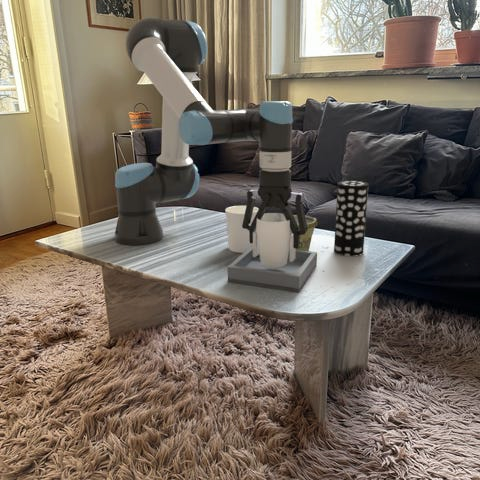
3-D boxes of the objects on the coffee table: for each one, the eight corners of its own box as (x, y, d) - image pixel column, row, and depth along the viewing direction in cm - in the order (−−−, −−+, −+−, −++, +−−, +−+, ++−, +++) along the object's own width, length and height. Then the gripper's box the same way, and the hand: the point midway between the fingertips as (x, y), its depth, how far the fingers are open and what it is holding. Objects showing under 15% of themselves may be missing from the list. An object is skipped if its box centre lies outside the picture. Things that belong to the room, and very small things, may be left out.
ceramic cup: (297, 261, 125) (298, 226, 122) (272, 252, 132) (272, 218, 129) (328, 251, 133) (330, 218, 130) (303, 243, 140) (304, 211, 137)
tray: (227, 281, 112) (227, 266, 111) (253, 258, 128) (253, 244, 126) (299, 292, 105) (299, 276, 104) (316, 266, 121) (317, 252, 120)
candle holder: (223, 253, 132) (222, 213, 128) (229, 242, 141) (228, 205, 138) (257, 254, 131) (257, 214, 127) (260, 243, 140) (260, 205, 136)
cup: (293, 269, 111) (294, 222, 108) (256, 269, 111) (256, 222, 108) (290, 256, 120) (291, 212, 116) (255, 256, 120) (255, 212, 116)
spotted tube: (335, 245, 137) (339, 180, 131) (364, 248, 135) (369, 181, 129) (332, 254, 130) (336, 185, 124) (362, 257, 127) (367, 186, 121)
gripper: (227, 168, 109) (228, 257, 116) (316, 173, 101) (312, 268, 108) (238, 164, 115) (239, 248, 122) (323, 168, 108) (319, 258, 115)
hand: (273, 257), depth 115 cm, fingers closed on cup, 9 cm apart
